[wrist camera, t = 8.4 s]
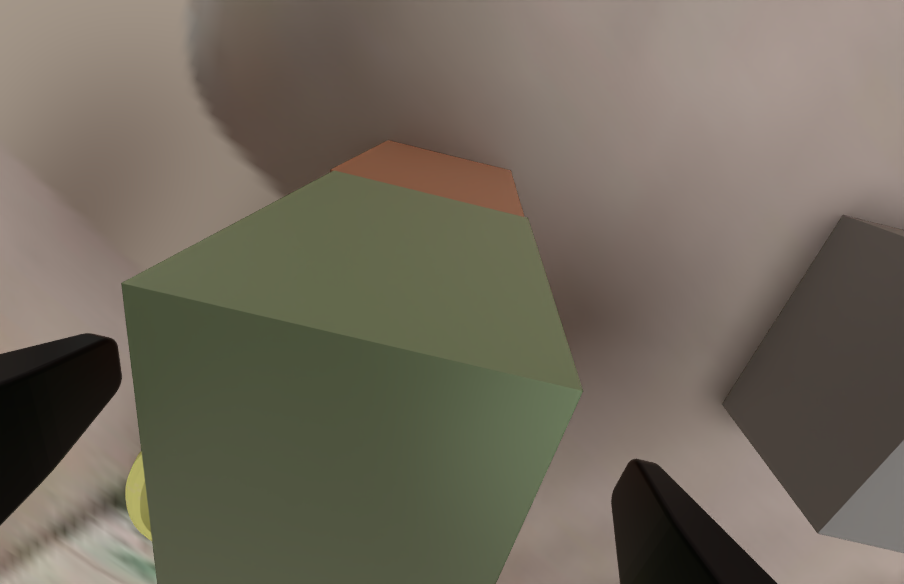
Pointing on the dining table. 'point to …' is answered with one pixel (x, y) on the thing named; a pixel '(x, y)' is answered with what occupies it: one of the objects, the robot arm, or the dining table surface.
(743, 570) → the robot arm
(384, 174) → the rust brick
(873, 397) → the gray brick
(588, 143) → the dining table surface
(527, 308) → the green brick
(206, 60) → the dining table surface
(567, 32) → the dining table surface
